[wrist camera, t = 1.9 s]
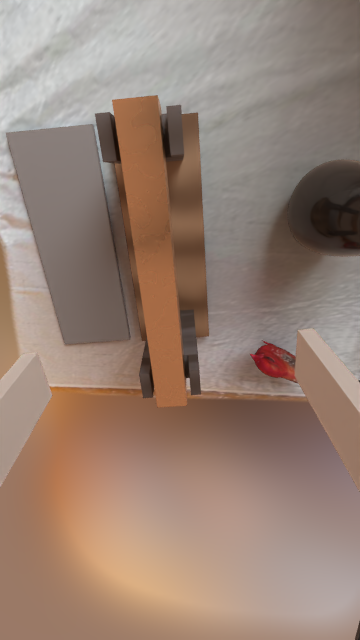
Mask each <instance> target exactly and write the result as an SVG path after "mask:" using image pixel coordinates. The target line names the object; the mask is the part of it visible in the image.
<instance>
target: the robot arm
mask: <svg viewBox="0 0 360 640" xmlns="http://www.w3.org/2000/svg"><path fill="white" fill-rule="evenodd" d="M295 378H296V379H297V381H298V383H299V385H300V387H301V388H302V390H303V392H304V394H305V395H306V397H307V399H308V401H309V403H310V404H311V406H312V408H313V410H314V411H315V413H316V415H317V417H318V419H319V420H320V422H321V424H322V426H323V427H324V429H325V431H326V433H327V434H328V436H329V438H330V440H331V442H332V444H333V445H334V447H335V449H336V451H337V452H338V454H339V456H340V458H341V460H342V461H343V463H344V465H345V467H346V468H347V470H348V472H349V474H350V475H351V477H352V479H353V481H354V483H355V484H356V486H357V488H358V490H359V492H360V381H358V380H357V379H356V378H355V377H354V375H353V374H352V373H351V372H350V371H349V370H348V368H347V367H346V366H345V365H344V364H343V362H342V361H341V360H340V359H339V358H338V357H337V355H336V354H335V353H334V352H333V351H332V350H331V348H330V347H329V346H328V345H327V344H326V343H325V341H324V340H323V339H322V338H321V337H320V335H319V334H318V333H317V332H316V331H315V330H314V328H313V329H301V330H298V333H297V348H296V362H295ZM51 397H52V393H51V390H50V387H49V384H48V381H47V378H46V376H45V373H44V370H43V367H42V364H41V361H40V358H39V355H38V352H37V353H25V354H22V355H21V357H20V358H19V359H18V360H17V361H16V362H15V364H14V365H13V366H12V367H11V368H10V369H9V370H8V372H7V373H6V374H5V375H4V376H3V378H2V379H1V380H0V486H1V485H2V483H3V481H4V479H5V477H6V476H7V474H8V472H9V471H10V469H11V467H12V465H13V464H14V462H15V460H16V458H17V457H18V455H19V453H20V451H21V450H22V448H23V446H24V444H25V443H26V441H27V439H28V437H29V435H30V434H31V432H32V430H33V429H34V427H35V424H36V423H37V421H38V420H39V418H40V416H41V414H42V413H43V411H44V409H45V407H46V406H47V404H48V402H49V400H50V399H51ZM355 640H360V622H359V626H358V630H357V633H356V637H355Z"/></svg>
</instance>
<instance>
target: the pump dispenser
mask: <svg viewBox="0 0 360 640" xmlns="http://www.w3.org/2000/svg"><path fill="white" fill-rule="evenodd" d="M288 224H289V228H290V230H291V233H292V235H293V236H294V238H295V239H296V240H297V241H298V242H299V243H300V244H301V245H302V246H304V247H305V248H307V249H309V250H311V251H313V252H316V253H320V254H324V255H329V256H339V257H349V256H360V162H359V161H355V160H347V159H341V160H333V161H329V162H326V163H323V164H321V165H319V166H317V167H315V168H314V169H312V170H311V171H310V172H309V173H307V174H306V175H305V176H304V177H303V178H302V180H301V181H300V182H299V183H298V185H297V186H296V188H295V190H294V192H293V194H292V196H291V199H290V202H289V206H288Z"/></svg>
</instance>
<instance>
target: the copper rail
mask: <svg viewBox="0 0 360 640" xmlns="http://www.w3.org/2000/svg"><path fill="white" fill-rule="evenodd" d="M112 102H113V109H114V116H115V123H116V129H117V136H118V143H119V150H120V157H121V163H122V170H123V177H124V184H125V191H126V197H127V204H128V211H129V218H130V224H131V231H132V238H133V245H134V252H135V258H136V265H137V272H138V279H139V286H140V292H141V299H142V306H143V313H144V319H145V326H146V333H147V340H148V347H149V353H150V360H151V367H152V374H153V381H154V387H155V394H156V401H157V407H172V406H186V405H187V389H186V373H185V362H184V351H183V340H182V330H181V319H180V308H179V297H178V286H177V275H176V264H175V254H174V243H173V232H172V221H171V210H170V199H169V189H168V178H167V167H166V156H165V145H164V134H163V123H162V113H161V105H160V102H159V99H158V95H156V96H146V97H136V98H127V99H117V100H112Z"/></svg>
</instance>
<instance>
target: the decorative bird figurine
mask: <svg viewBox="0 0 360 640" xmlns="http://www.w3.org/2000/svg"><path fill="white" fill-rule="evenodd" d="M262 341H263V340H262ZM263 342H264V343H266V344H268V345H263V346H261V347H260V348H259V349H258V350H257V352H256V354H255V355H253V354H250V355H251V357H252V358H253V359H254V361H255V364H256V366H257V367H258V368H259V369H260V370H261V371H262V372H263V373H264V374H266V375H268V376H271V377H275V378H278V377H281V378H284V379H287V380H290V381H293V382H295V383H298V381H297V379H296V378H295V362H296V357H295V356H294V355H292V354H291V353H289V352H287V351H285V350H283V349H281V348H279V347H276V346H275V345H273V344H270V343H267V342H265V341H263Z"/></svg>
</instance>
